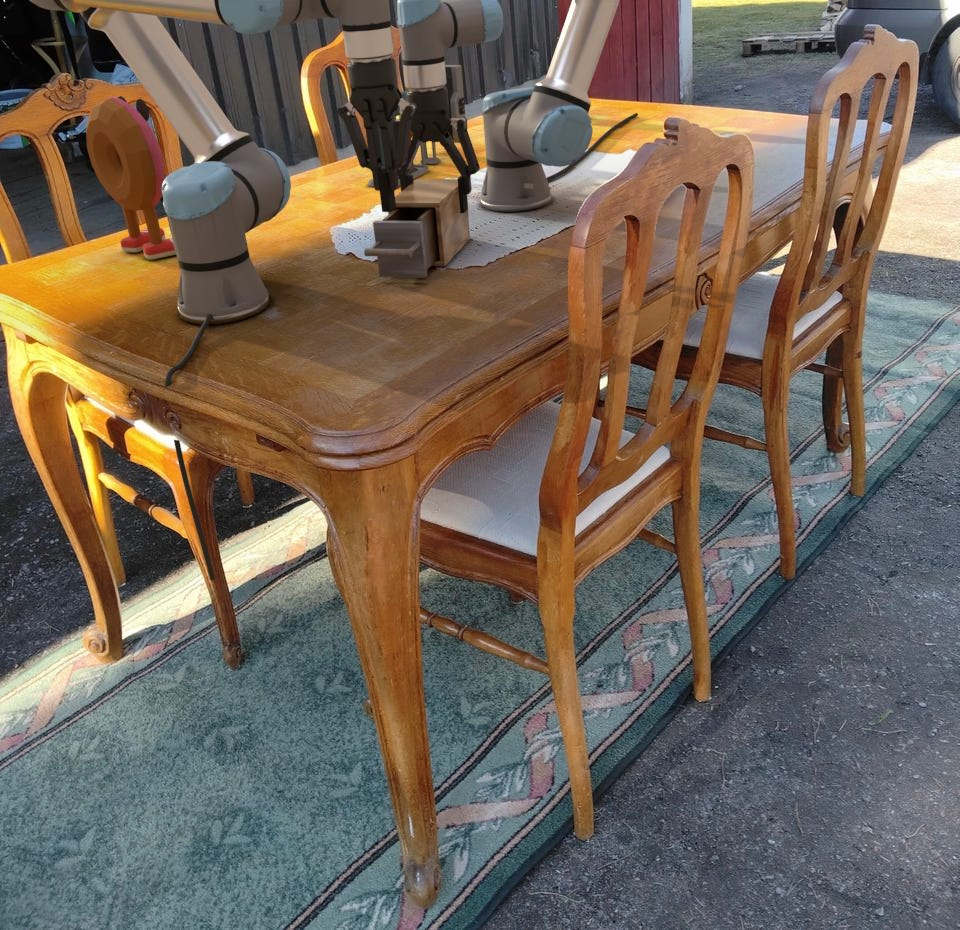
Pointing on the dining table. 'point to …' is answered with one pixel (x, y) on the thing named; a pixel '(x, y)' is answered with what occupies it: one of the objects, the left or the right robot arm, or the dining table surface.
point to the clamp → (456, 111)
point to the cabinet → (440, 213)
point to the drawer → (406, 242)
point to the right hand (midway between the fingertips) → (438, 210)
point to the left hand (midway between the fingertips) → (389, 209)
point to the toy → (130, 170)
